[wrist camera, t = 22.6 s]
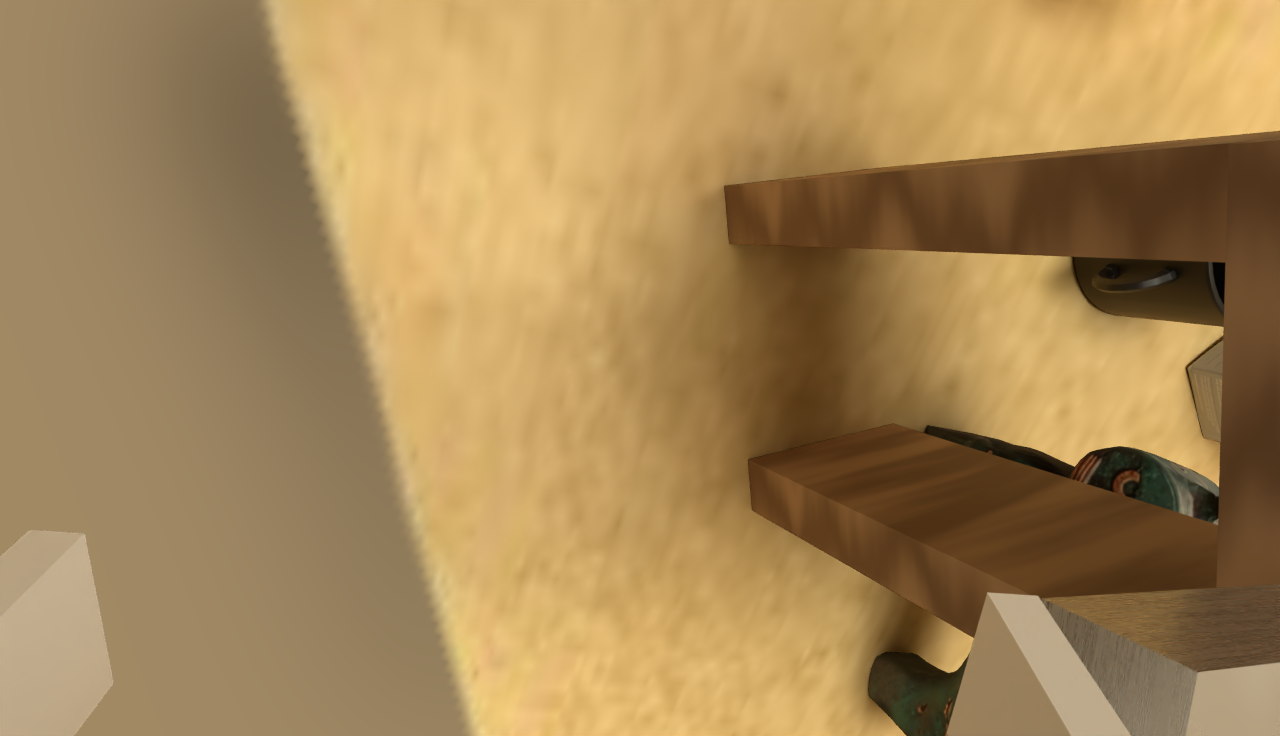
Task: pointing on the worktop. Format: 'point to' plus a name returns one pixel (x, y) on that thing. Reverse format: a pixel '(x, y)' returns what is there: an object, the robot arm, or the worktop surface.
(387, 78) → the worktop surface
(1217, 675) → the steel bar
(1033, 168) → the walnut shelf
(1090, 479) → the dark green curved figure
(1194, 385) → the skincare box
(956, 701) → the robot arm
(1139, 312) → the mug
